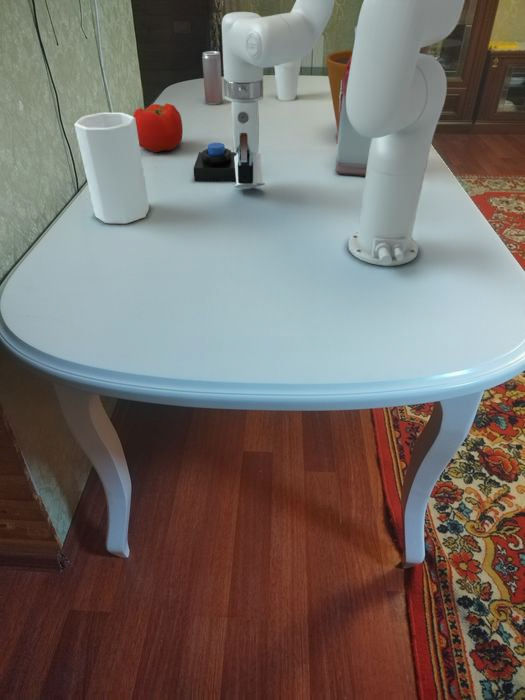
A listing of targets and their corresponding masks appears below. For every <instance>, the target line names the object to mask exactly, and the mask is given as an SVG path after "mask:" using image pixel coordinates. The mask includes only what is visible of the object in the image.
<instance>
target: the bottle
mask: <svg viewBox="0 0 525 700" xmlns="http://www.w3.org/2000/svg"><path fill="white" fill-rule="evenodd" d="M356 30H357V25H356V26H355V27H354V37H355V36H356ZM351 60H352V55H351V56H350V59H349V60H348V63H347V65H346V68H345V71H344V77H343V79H342V80H341V89H340V95H339V99H340V101H339V113H338V126H339V132H338V131H337V137H336V145H337V147H336V158H335V160H336V161H335V163H336V166H335V172H336V173H337V174H339V175H345V176H360V177H366V170H367V162H368V156H369V149H370V145H371V141H372V138H368V137H365V136H363V135H361V134H359V133H358V132H357V131H356V130H355V129H354V128H353V126H352V125H351V123H350V121H349V118H348V115H347V110H346V91H347V83H348V77H349V72H350V66H351Z"/></svg>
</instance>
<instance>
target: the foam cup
mask: <svg viewBox="0 0 525 700" xmlns="http://www.w3.org/2000/svg"><path fill="white" fill-rule="evenodd" d="M301 65H302V59H301V60H297V61H293V62H289V63H285V64H281V65H278V66H273V68H274V77H275V87H276V97H277V99H278V100H279V101H286V102H288V101H294V100H296V97H297V92H298V84H299V78H300V72H301Z"/></svg>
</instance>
